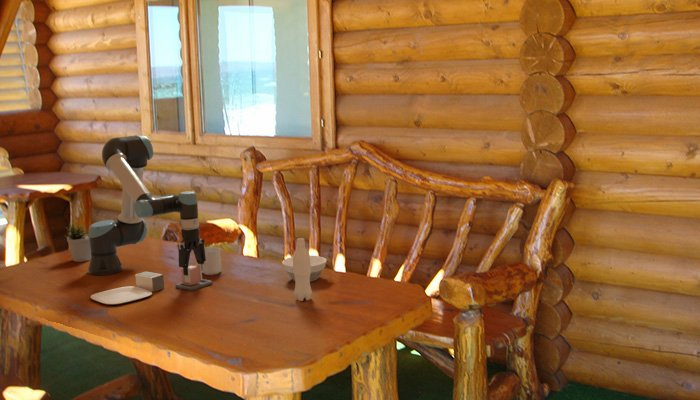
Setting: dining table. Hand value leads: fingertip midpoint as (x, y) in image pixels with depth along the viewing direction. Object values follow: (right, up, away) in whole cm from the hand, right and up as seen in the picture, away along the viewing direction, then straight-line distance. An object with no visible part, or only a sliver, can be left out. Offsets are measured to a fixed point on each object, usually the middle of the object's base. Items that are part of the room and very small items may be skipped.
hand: (193, 280), depth 354 cm
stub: (-1, -1, +1) cm, 2 cm away
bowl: (+48, 0, +6) cm, 48 cm away
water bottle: (+49, -6, -24) cm, 55 cm away
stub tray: (0, -3, +1) cm, 3 cm away
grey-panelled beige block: (-19, -3, 0) cm, 19 cm away
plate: (-28, -6, -13) cm, 31 cm away
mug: (+3, +1, +23) cm, 23 cm away
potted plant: (-66, +5, +55) cm, 86 cm away
